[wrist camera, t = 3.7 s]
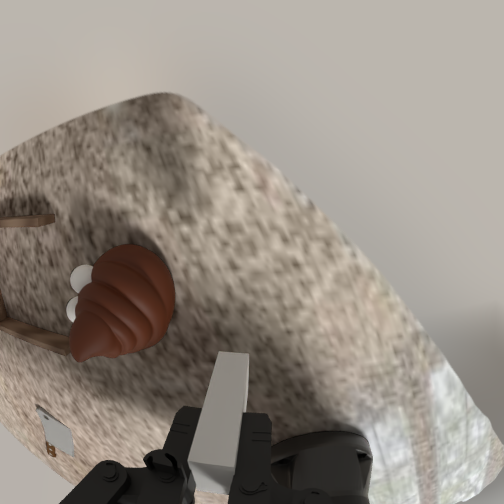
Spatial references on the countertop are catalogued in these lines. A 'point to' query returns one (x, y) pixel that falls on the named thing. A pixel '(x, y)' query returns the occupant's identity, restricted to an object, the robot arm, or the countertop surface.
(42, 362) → the countertop surface
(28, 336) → the walnut corral
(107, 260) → the poop emoji
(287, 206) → the countertop surface
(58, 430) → the kitchen cleaver
